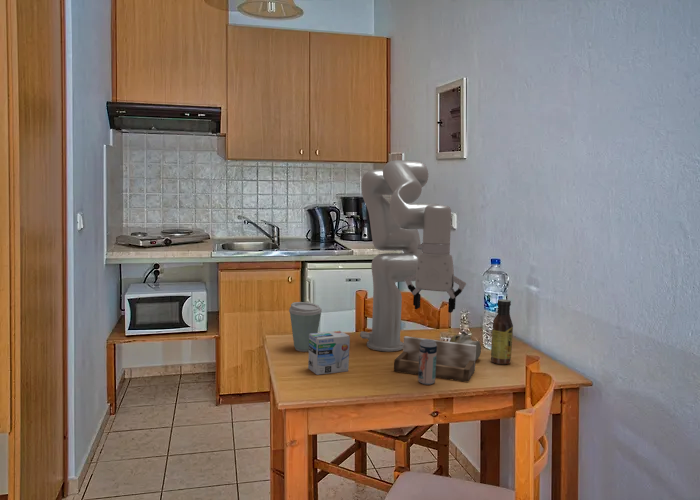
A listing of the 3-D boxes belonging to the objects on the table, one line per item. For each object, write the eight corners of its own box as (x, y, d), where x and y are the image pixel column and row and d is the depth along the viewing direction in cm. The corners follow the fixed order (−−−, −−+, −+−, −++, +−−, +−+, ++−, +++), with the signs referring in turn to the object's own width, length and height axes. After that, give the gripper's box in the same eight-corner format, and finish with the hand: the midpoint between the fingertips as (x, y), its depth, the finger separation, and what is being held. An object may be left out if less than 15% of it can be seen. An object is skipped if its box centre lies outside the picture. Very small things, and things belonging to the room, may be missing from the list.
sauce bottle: (511, 366, 196) (515, 303, 194) (490, 364, 198) (494, 301, 195) (510, 360, 203) (514, 299, 200) (490, 358, 204) (494, 297, 201)
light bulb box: (316, 375, 182) (317, 339, 180) (307, 368, 188) (308, 333, 186) (349, 371, 187) (350, 335, 185) (339, 364, 193) (340, 329, 191)
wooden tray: (393, 371, 188) (395, 345, 187) (404, 361, 198) (405, 336, 197) (468, 382, 180) (469, 354, 179) (474, 371, 190) (476, 345, 189)
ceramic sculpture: (466, 337, 194) (434, 329, 207) (465, 365, 195) (434, 355, 208) (491, 334, 200) (459, 326, 213) (490, 361, 201) (458, 351, 213)
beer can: (416, 379, 181) (418, 338, 179) (433, 379, 181) (435, 338, 180) (419, 385, 176) (421, 343, 175) (436, 385, 177) (438, 343, 175)
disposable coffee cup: (321, 345, 213) (322, 301, 211) (320, 354, 202) (321, 308, 200) (289, 344, 212) (290, 300, 210) (287, 353, 202) (288, 307, 200)
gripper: (402, 248, 176) (400, 309, 178) (463, 252, 170) (461, 315, 171) (410, 246, 183) (408, 305, 185) (469, 250, 177) (467, 310, 178)
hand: (433, 310), depth 178 cm, fingers open, 9 cm apart
